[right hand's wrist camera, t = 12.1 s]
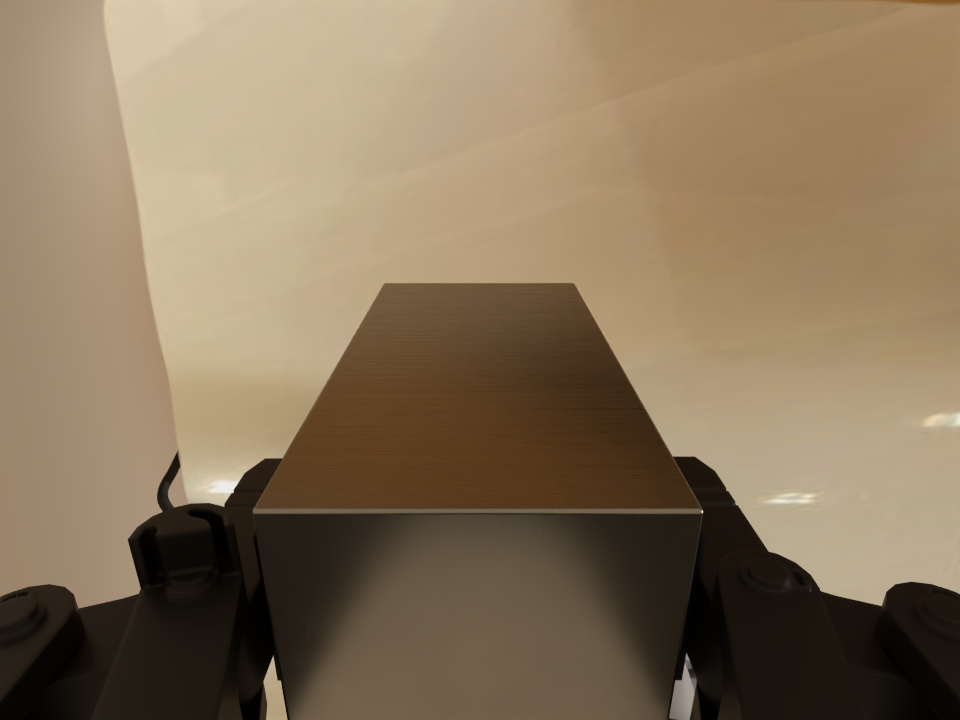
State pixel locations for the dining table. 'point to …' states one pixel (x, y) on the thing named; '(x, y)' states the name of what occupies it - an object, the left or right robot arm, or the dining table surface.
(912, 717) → the right robot arm
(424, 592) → the brick
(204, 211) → the dining table surface
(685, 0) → the dining table surface
